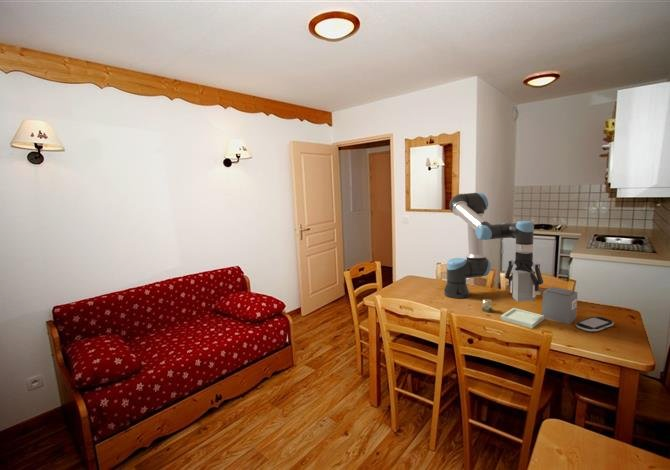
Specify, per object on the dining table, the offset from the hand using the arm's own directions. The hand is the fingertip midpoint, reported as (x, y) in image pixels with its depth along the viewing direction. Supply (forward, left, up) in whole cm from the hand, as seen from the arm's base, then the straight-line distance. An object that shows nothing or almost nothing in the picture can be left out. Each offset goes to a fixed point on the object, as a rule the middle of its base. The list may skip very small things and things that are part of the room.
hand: (523, 294), depth 163 cm
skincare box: (0, 0, -3) cm, 3 cm away
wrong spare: (-18, -1, -14) cm, 23 cm away
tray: (0, 0, -14) cm, 14 cm away
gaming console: (+26, +15, -14) cm, 33 cm away
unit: (+12, +14, -14) cm, 23 cm away
